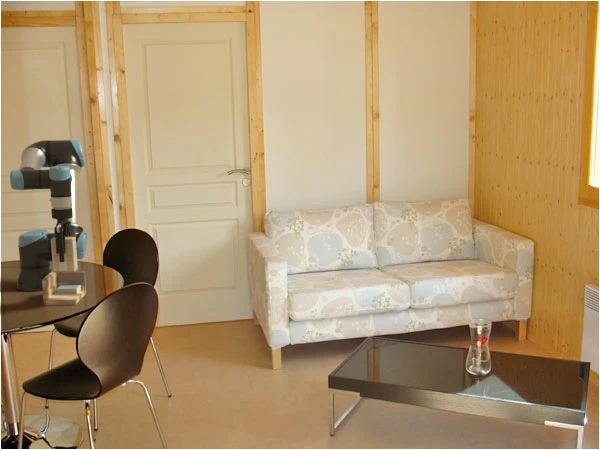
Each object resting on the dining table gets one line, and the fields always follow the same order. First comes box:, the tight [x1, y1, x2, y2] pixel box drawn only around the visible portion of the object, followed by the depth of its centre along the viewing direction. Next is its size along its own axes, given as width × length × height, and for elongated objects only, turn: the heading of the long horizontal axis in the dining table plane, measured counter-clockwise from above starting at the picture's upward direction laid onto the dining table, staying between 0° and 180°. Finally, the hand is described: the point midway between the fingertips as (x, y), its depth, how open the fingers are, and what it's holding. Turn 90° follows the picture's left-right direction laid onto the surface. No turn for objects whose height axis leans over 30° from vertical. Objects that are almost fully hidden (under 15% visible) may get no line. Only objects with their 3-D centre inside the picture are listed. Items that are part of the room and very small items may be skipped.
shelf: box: [42, 270, 87, 306], centre depth 272 cm, size 16×12×10 cm
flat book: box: [57, 285, 81, 294], centre depth 275 cm, size 6×8×2 cm
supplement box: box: [51, 237, 79, 273], centre depth 264 cm, size 8×5×13 cm, turn 92°
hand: (65, 268), depth 265 cm, fingers closed on supplement box, 5 cm apart
